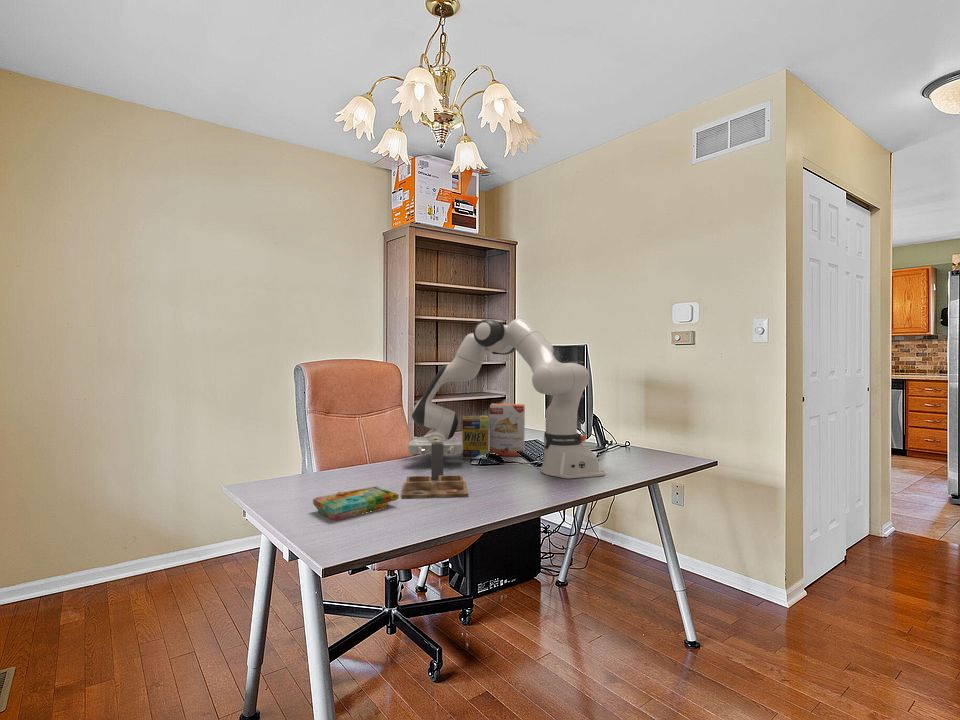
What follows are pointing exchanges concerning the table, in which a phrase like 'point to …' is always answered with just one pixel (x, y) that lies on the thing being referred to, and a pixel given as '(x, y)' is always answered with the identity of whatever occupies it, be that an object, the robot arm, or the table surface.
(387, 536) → the table surface
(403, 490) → the socket board
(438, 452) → the plug
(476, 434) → the protein box
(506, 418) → the cracker box
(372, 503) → the puzzle game
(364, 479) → the table surface
